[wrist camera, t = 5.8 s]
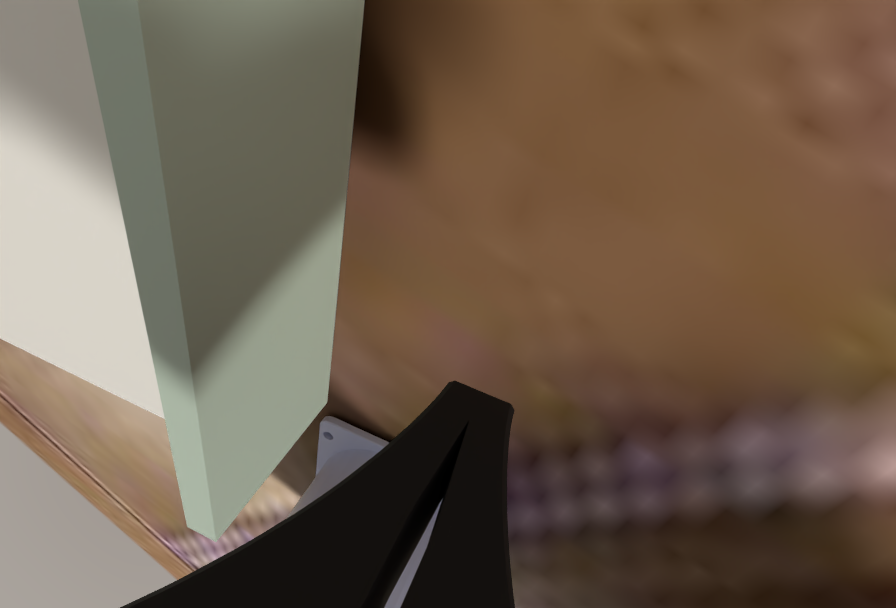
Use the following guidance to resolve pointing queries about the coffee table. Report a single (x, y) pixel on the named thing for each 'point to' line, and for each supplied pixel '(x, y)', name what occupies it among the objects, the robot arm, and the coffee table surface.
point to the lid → (181, 215)
